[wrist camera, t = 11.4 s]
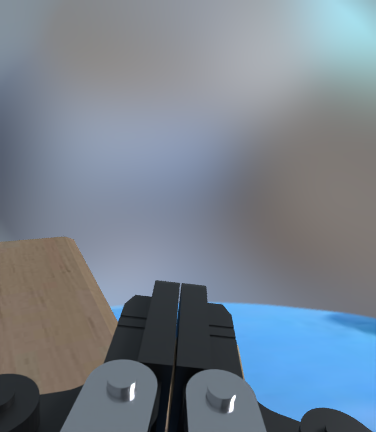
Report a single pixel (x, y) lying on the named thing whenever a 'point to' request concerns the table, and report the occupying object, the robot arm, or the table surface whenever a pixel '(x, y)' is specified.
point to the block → (51, 314)
